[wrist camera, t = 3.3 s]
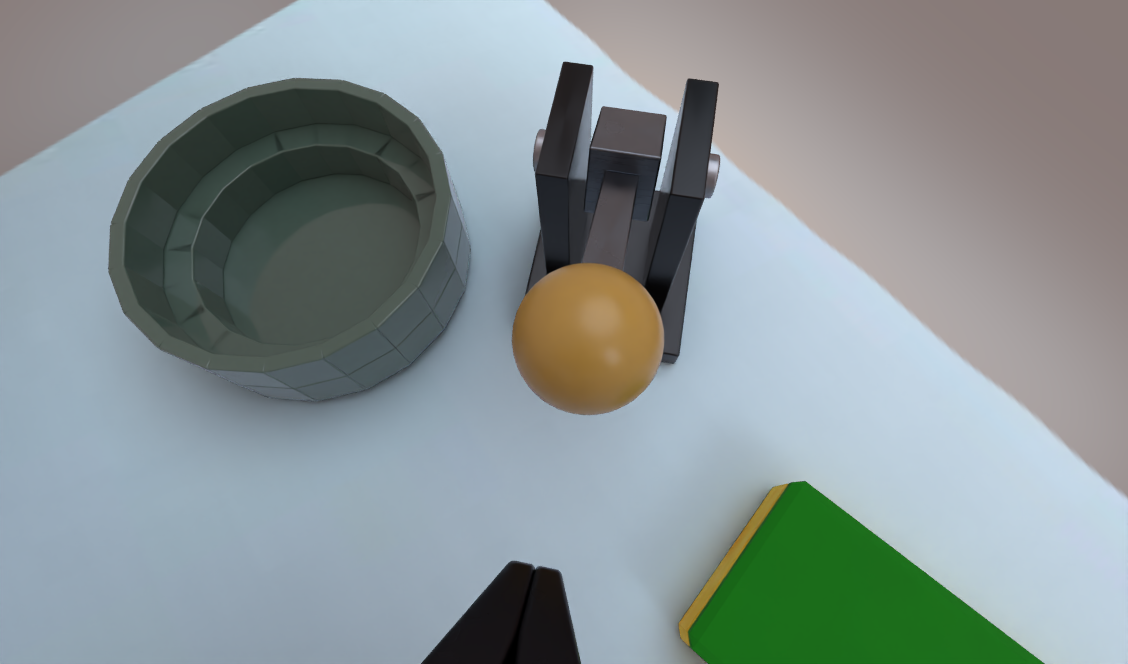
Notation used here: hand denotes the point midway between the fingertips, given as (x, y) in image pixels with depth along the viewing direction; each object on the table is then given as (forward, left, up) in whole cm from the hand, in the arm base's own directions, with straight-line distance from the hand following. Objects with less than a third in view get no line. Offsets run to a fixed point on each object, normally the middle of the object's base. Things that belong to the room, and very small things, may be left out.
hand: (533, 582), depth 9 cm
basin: (+15, +7, -14) cm, 22 cm away
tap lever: (+7, -3, -6) cm, 10 cm away
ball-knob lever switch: (+11, -5, -14) cm, 19 cm away
